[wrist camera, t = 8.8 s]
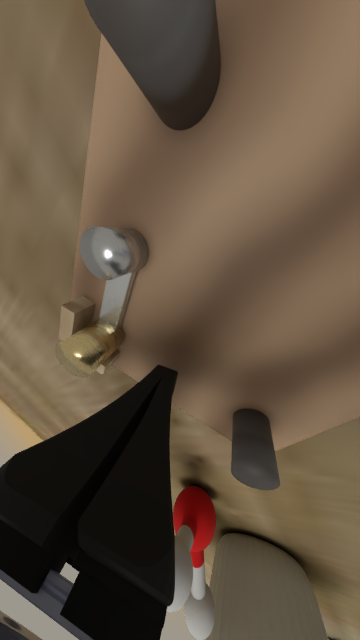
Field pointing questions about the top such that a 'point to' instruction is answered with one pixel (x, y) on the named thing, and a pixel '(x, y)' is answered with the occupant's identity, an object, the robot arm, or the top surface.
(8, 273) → the top surface
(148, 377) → the robot arm
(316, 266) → the wooden board with pegs
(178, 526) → the molecular model
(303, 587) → the canister
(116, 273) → the metal crank handle
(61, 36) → the top surface
